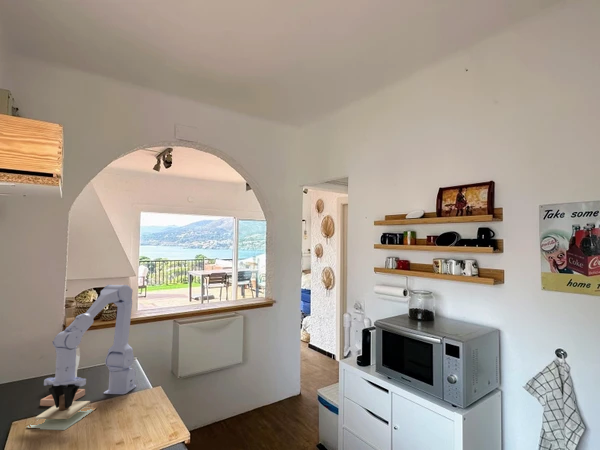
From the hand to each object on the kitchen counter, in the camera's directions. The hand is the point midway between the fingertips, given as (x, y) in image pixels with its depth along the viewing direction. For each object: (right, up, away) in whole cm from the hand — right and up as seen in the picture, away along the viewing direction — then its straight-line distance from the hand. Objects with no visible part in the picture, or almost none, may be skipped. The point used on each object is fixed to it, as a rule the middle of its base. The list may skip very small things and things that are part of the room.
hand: (63, 406), depth 110 cm
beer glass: (-21, -7, +31) cm, 38 cm away
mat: (0, -4, 0) cm, 4 cm away
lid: (0, -2, 0) cm, 2 cm away
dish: (-10, -5, +14) cm, 18 cm away
